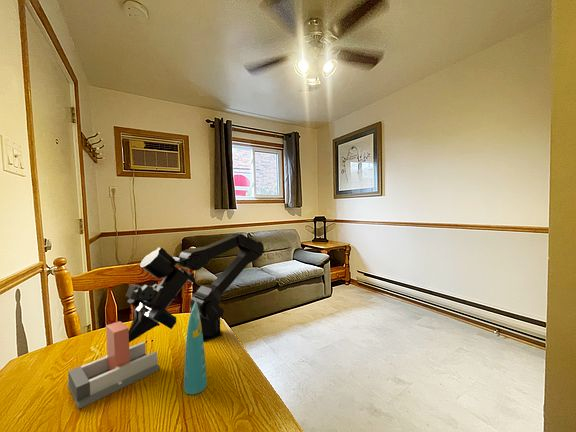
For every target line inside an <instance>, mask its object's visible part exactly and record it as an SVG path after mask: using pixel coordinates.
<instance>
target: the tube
mask: <svg viewBox="0 0 576 432" xmlns="http://www.w3.org/2000/svg"><path fill="white" fill-rule="evenodd" d="M187 324H188V325H187V331H186V338H185V339H186V341H185V355H184V356H185V357H184V378H183V383H184V385H183V390H184V392H185V394H187V395H191V396H192V395H196V394H199V393H201V392H203V391H204V390H205V389H206V387H207V386H208V384H207V383H208V381H207V379H208V378H207V368H206V367H207V366H206V354H205V353H206V352H205V343H204V342H205V341H203V334H202V326H201V320H200V315H199V310H198V305H197V301H196V300H195V303H194V305H193V308H192V310H191V311H190V313H189V318H188V323H187Z"/></svg>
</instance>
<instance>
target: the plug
mask: <svg viewBox="0 0 576 432" xmlns="http://www.w3.org/2000/svg"><path fill="white" fill-rule="evenodd" d="M105 328H106V355H107V361H108V370H109V371H110V370H113V369H115V367H117V366H119V367H120V366H122V365H124V364H127V363H129V362H130V358H129V347H130V343H129V329H130V327H128V326H127V325H125V324H124V322H122V321H120V320H119V321H116V322H113V323H109V324H106V326H105Z"/></svg>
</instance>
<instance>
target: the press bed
mask: <svg viewBox="0 0 576 432" xmlns="http://www.w3.org/2000/svg"><path fill="white" fill-rule="evenodd" d="M146 351H147V350H146V342H145V341H142V342H139V343H137V344H134V345H132V346H129V358H130V362H129V363H127V364H124V365H122V366H120V367H119V366H117V367H115V369H113V370H110V371H109V370H108V361H107V354H105V356H103V357H100V358H98V359H96V360H93V361H91V362H88V363H85V364H83V365H80V366H77V367H74V368H72V369H70V370H68V371H67V372H68V381H67V386H68V389H69V391H70V393H71V396H72V398H73V400H74V402H75V405H76V408H77V409H78V410H80V409H82V408H84V407H86V406H89V405H90V404H92V403H94V402H97V401H99V400H100V399H103V398H105V397H106V396H109V395H111V394H114V393H115V392H117V391H118V390H121V389H123V388H125V387H127V386H130V385H132V384H133V383H135V382H138V381H139V380H141V379H143V378H145V377H148V376H150V375H151V374H154V373H156V372H158V371H160V365H159V364H158V352H157V351H156V350H155V351H153V352H150V353H148V354H147V353H146Z"/></svg>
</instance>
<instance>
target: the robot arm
mask: <svg viewBox="0 0 576 432" xmlns="http://www.w3.org/2000/svg"><path fill="white" fill-rule="evenodd" d="M235 248H237V249H238V250H239V251H238V254H237V256H236V257H235V258H234V259H233V260H232V262H230V264H229V265H228V266H227V267H226V268H225V269H223V271H222V272H221V274H220V275H219V276H218V277H217V278H216V279H215V280H214V281H213V282H212V283H211V284H210V285H208V286H205V285H200V287H199V288H198V289H197V291H195V292H194V293H193V294H192V297H191V298H190V301H189V307H190V309H191V311H192V308H193V305H194V303H195V300H196V301H197V305H198V310H199V315H200V320H201V326H202V334H203V342H206V341H209V340H212V339H215V338H218V337H221V336H223V333H222V332H221V318H223V316H224V313H225V310H224V309H223V308H222V307H220V303H221V300H222V297H223V294H224V293H225V292H226V290H227V289H228V288H229V287H230V285H232V283H233V282H234V281H235V280H236V279H237V278H238V276H240V274H241V273H242V272H243V271H244V270H245V269H246V267H247V266H248V265H249V264H251V263H253V262H255V261H257V260H258V259H259V258H261V256H262V255H264V251H265V247H264V244H263V242H261V241H257V240H254V239H252V238H251V237H247V235H244V234H243V233H236V232H235V233H232V234H231V235H229V236H226V237H224V238H221V239H219V240H217V241H214V242H212V243H209V244H208V245H205V246H201V247H200V246H198V247H193V248H188V249H184V250H183V251H181V252H180V253H179V254H176V255H173V256H171V254H169V253H168V252H167V251H166V249H164V248H163V247H160V246H159V247H157V248H156V249H155V250H153V251H152V252H150V253H148V254H146V256H144V258H143V259H141V262H140V265H139V266H140V267H141V268H142V269H143V270H144V271H146V272H147V273H148V274H150V275H151V276H153V277H154V278H156V279H162V278H163V279H162V280H160V282H159V283H158V284H157V283H155V284H153V285H147V284H144V285H138V284H134V283H130V285H129V287H128V288H127V291H126V294H125V297H126V298H128V300H127V301H126V302H127V303H129V304H130V305H131V306H133V308H132V311H133V317H134V318H133V320H132V322H131V323H130V324H131V325H130V327H129V344H130V343H131V342H132V341H134V340H135V339H138V338H139V337H141V336H142V335H144V334H145V333H147V332H148V331H150V330H153V329H154V328H155V327H159V326H160V325H161V324H162V325H163V326H165V327H167V328H168V329H170V330H173V328H174V326H175V325H176V324H177V317H176V315H173V314H172V313H170V312H169V310H167V308H168V307H169V305H170V304H171V303H172V302H173V300H174V301H175V302H176V301H177V300H178V299H179V297H178V293H179V292H180V291H181V290H182V288H183V287H184V286H185V284H187V282H190V283H193V284H194V283H195V282H196V280H195V273H193V272H188V271H187V270H190V271H194V272H195V271H200V269H202V268H203V267H205V266H206V265H208V264H209V262H210V261H211V260H212V259H214V258H215V257H218V256H220V255H222V254H224V253H226V252H228V251H230V250H233V249H235ZM177 266H178V267H181V268H178V267H177ZM134 307H135V308H134Z"/></svg>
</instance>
